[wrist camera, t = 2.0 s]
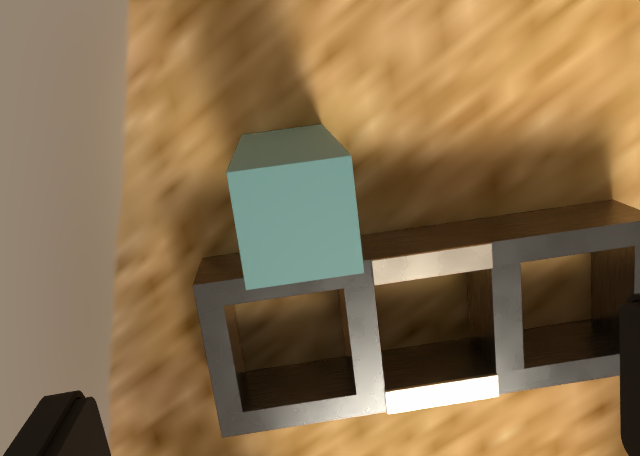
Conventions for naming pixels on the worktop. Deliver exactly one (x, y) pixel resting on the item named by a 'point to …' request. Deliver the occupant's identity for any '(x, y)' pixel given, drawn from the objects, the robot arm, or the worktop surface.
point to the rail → (438, 358)
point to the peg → (294, 207)
